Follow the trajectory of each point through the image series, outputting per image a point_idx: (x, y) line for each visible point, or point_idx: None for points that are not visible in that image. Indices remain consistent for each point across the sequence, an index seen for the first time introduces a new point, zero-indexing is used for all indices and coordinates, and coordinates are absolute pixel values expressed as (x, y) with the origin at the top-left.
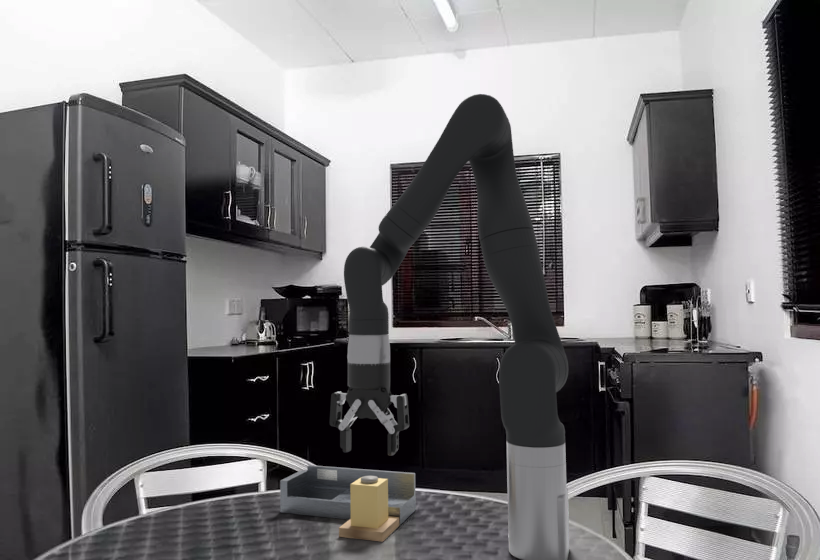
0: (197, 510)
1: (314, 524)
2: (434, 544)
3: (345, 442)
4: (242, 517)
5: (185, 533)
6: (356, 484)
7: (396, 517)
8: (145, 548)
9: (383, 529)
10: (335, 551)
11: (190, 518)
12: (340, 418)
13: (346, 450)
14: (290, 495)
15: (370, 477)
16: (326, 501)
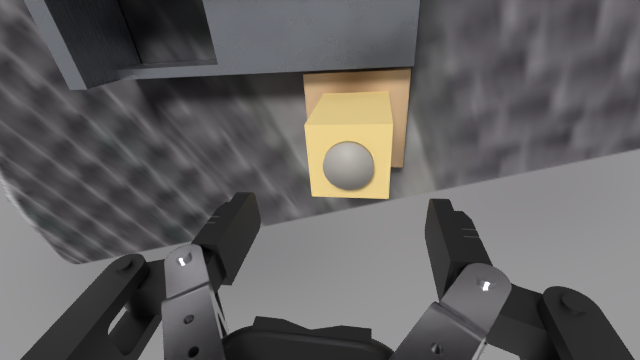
0: (10, 109)
1: (234, 109)
2: (507, 137)
3: (246, 250)
4: (100, 116)
5: (108, 197)
6: (328, 196)
7: (404, 73)
8: (123, 242)
9: (398, 152)
10: (338, 204)
11: (47, 146)
12: (133, 289)
13: (258, 227)
14: (112, 63)
15: (348, 163)
16: (213, 75)
